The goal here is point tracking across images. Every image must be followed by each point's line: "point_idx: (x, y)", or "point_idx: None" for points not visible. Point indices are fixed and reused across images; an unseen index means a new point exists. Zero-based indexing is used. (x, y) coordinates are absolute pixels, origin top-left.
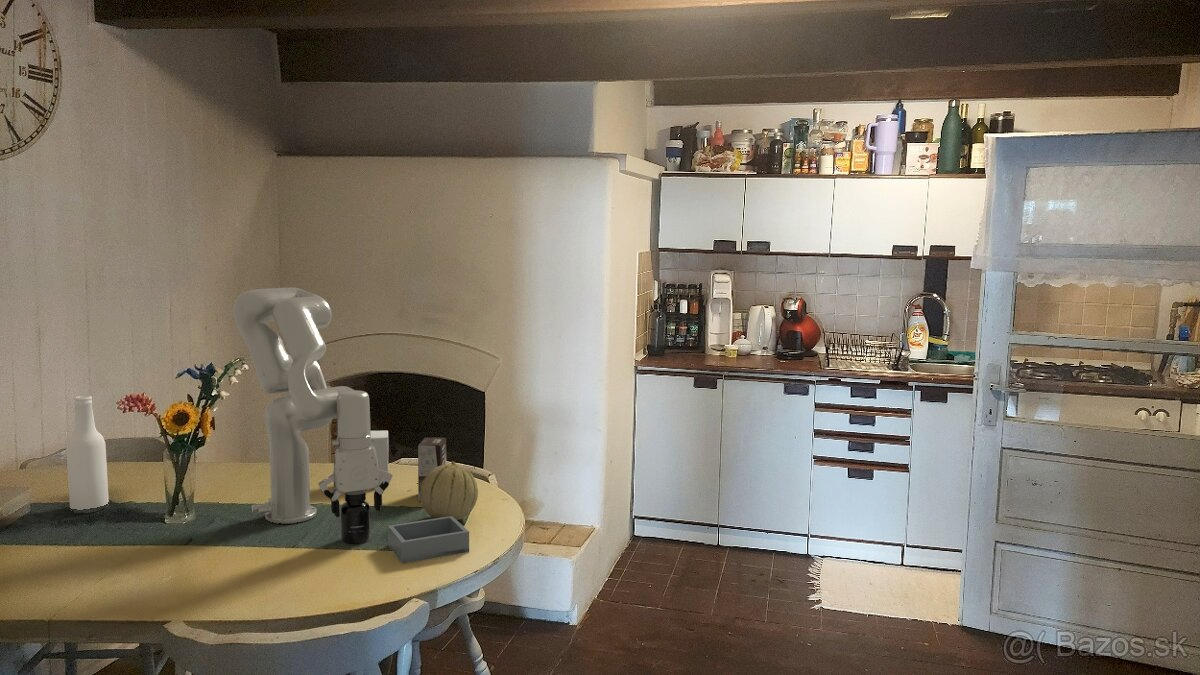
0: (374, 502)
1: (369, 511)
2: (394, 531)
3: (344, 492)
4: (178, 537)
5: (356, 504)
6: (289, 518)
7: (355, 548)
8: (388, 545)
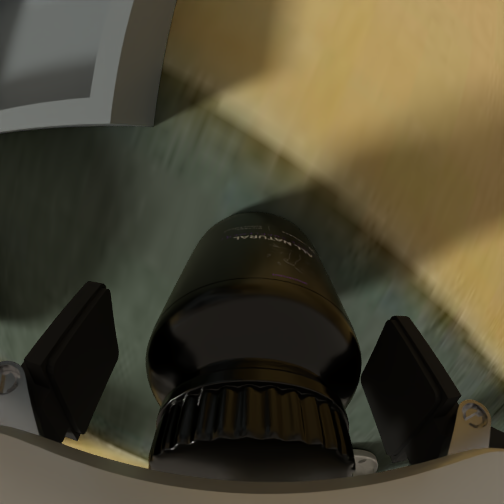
0: (104, 373)
1: (163, 310)
2: (121, 11)
3: (475, 451)
4: (495, 421)
5: (276, 361)
6: None
7: (293, 176)
8: (153, 117)
